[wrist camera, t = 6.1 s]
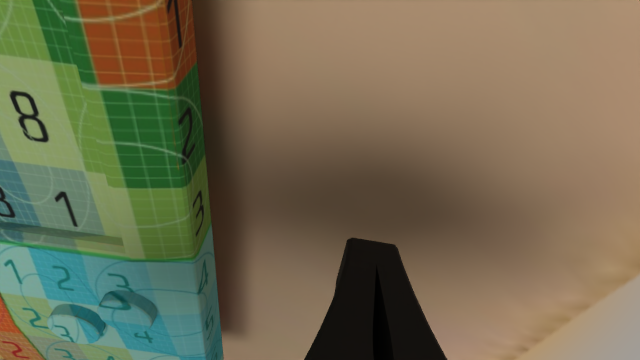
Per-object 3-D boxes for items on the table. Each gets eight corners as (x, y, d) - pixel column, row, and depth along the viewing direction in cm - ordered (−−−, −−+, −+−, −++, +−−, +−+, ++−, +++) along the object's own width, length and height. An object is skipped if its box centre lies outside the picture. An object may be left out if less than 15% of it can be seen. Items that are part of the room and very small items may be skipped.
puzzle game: (-74, 393, 17) (-1000, -451, 4) (4, 296, 21) (-384, -319, 8) (211, 433, 17) (91, -309, 4) (239, 329, 21) (217, -241, 8)
